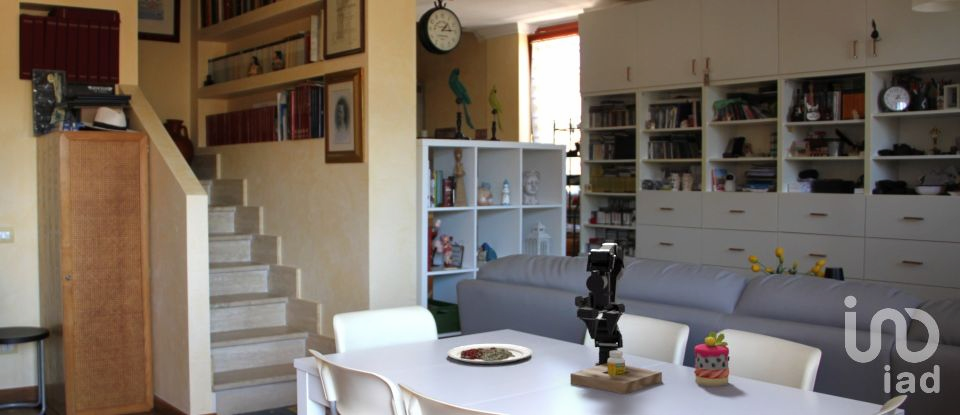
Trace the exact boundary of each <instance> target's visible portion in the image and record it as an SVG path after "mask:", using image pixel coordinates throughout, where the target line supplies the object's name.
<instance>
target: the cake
mask: <svg viewBox="0 0 960 415" xmlns="http://www.w3.org/2000/svg"><path fill="white" fill-rule="evenodd" d="M725 337H726V336H725V334H724V333H720V334H719V335H717V333H716V332H714V331H711V332H709V334H708V336H706V337H705V338H704V342H705V343H701V344H700V343H699V344H697V345H696V346H694V362H693V364H695V365H694V368H695V370H694V371H693V373H694V374H695V378H694V379H695V383H696V384H697V383H698V385H700V384H702V385H701V386H704V385H709V386H708V387H721V386H720V385H725V386H727V385H729V375H730V367H729V361H730V356H729V354H730V349H729V347H728V342H727V341H724V339H725ZM726 384H727V385H726Z"/></svg>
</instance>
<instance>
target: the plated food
mask: <svg viewBox="0 0 960 415" xmlns="http://www.w3.org/2000/svg"><path fill="white" fill-rule="evenodd" d="M532 354H533V351H532V350H531V349H530V348H528V347H525V346H522V345H516V344H509V343H479V344H478V343H476V344H466V345H462V346H461V345H460V346H457V347H454V348H451V349H449V350H448V351H447V356H448V357H449V358H452V359H455V360H457V361H458V360H459V361H462V362H466V363H470V364H479V365H480V364H484V365H486V364H487V365H488V364H489V365H491V364H504V363H511V362H516V361H519V360H522V359H525V358H528V357H530V356H532Z"/></svg>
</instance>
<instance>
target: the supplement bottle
mask: <svg viewBox="0 0 960 415" xmlns="http://www.w3.org/2000/svg"><path fill="white" fill-rule="evenodd" d="M623 353H624V352H623V351H622V350H614V351H610V354H609V355H610V358H609V359H608V361H607V362H608V374H610V375H615V376H621V375H625V366H626V359H625V358H623V355H624V354H623Z"/></svg>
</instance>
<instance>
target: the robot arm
mask: <svg viewBox="0 0 960 415" xmlns="http://www.w3.org/2000/svg"><path fill="white" fill-rule="evenodd" d="M625 255H626V254H625V252H624V251H623V250H621V249H620V247H619V245H618V244H617V243H616V242H604V243H602V244H601V247H599V249H591V250H590V252H588V254H587V261H586V272H588V273H590V275H589V276H588V277H587V279H586V282H585V285H586V288H587V290H588V291H589V292H588V296H586V297H583V296H582V295H578V296H574V305H575V307H577V308H578V309H577V310H576V317H577V318H578V319H579V320H581V321H583V322H584V324H585V326H586V328H587V331H588V334H589V337H590V339H591V340H593V341H594V342H593V343H594V348H598V362H595V363H594V364H595V365H596V366H599V365H602V364H606V363H608V362H607V361H608V359H609V358H610V355H609V354H610V351H614V350H618V349H621V348H624V339H623V334H622V333H621V330H620V327H619V324H618V322H619V320H620V318H621V317H622V316H623V313H625V312H626V306H625V305H624V302H617V300H618V298H617V297H618V288H619V287H618V283H619V281H620V280H621V278H622V276H623V275H624V271H625V270H624V269H626V264H627V262H626V261H627V260H626V256H625ZM600 314H602V315H601V317H600V318H598V317H599V315H600ZM618 351H619V350H618Z"/></svg>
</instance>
